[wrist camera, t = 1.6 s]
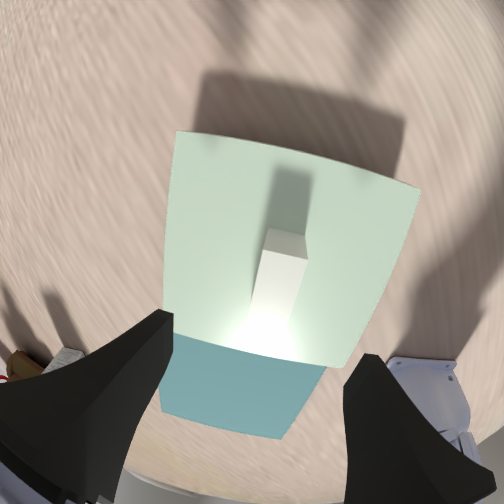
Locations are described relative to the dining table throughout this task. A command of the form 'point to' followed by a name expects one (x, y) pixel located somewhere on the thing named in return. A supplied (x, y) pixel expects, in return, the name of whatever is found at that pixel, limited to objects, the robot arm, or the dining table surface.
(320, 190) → the lid
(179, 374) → the mat
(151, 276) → the dining table surface
